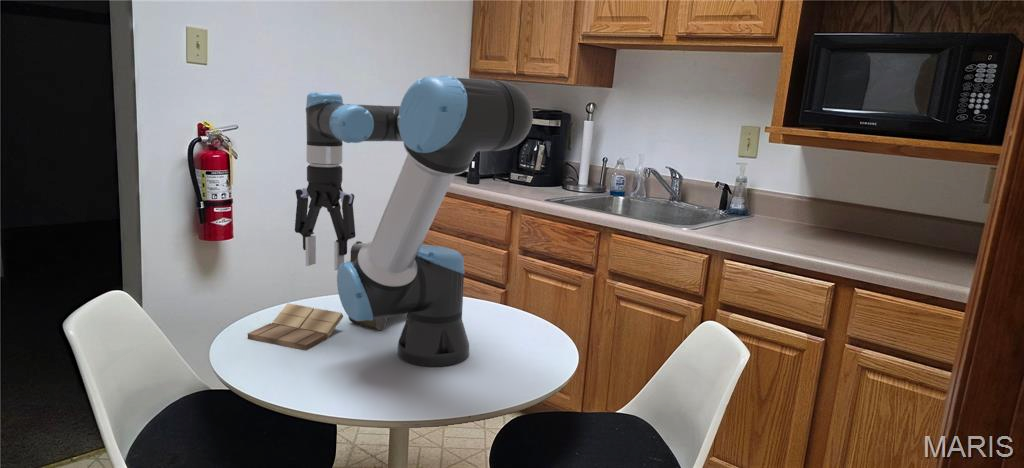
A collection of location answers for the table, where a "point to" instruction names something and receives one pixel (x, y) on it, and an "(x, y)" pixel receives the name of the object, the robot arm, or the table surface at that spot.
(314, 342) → the walnut row
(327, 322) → the oak plank
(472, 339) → the table surface
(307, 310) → the oak plank
